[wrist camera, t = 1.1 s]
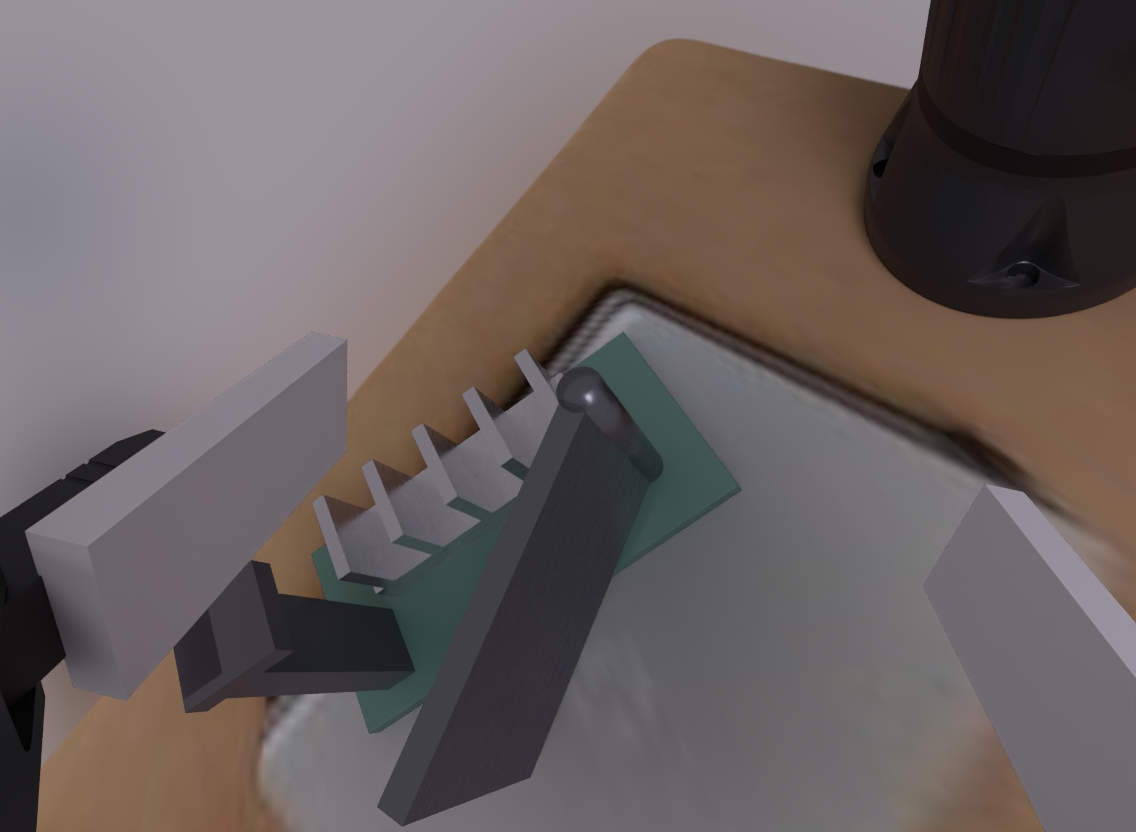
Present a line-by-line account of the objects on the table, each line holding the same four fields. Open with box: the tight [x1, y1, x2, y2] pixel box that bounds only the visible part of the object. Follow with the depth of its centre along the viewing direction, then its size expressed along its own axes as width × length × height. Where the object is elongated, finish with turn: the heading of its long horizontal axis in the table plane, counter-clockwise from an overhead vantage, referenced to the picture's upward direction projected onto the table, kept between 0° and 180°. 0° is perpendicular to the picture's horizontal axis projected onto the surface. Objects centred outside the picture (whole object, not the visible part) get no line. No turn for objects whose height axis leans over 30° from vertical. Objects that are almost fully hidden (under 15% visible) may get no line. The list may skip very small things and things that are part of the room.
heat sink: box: [312, 349, 563, 597], centre depth 36 cm, size 16×5×6 cm, turn 120°
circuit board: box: [311, 332, 741, 734], centre depth 38 cm, size 25×12×1 cm, turn 120°
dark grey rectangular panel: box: [377, 366, 664, 826], centre depth 28 cm, size 18×2×11 cm, turn 155°
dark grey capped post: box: [173, 560, 415, 713], centre depth 31 cm, size 4×4×14 cm
